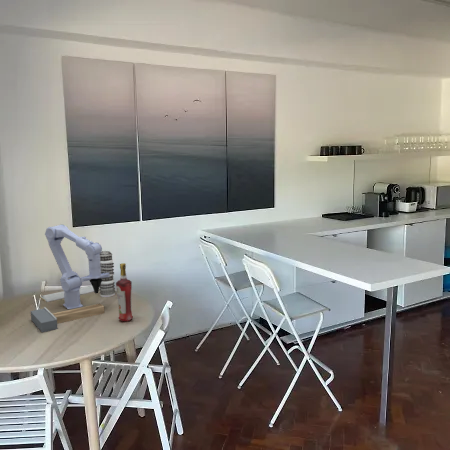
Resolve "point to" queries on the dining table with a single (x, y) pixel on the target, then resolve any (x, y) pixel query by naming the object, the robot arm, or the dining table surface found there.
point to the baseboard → (61, 294)
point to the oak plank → (79, 313)
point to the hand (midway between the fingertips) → (96, 292)
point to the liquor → (124, 295)
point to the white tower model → (107, 267)
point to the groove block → (44, 320)
